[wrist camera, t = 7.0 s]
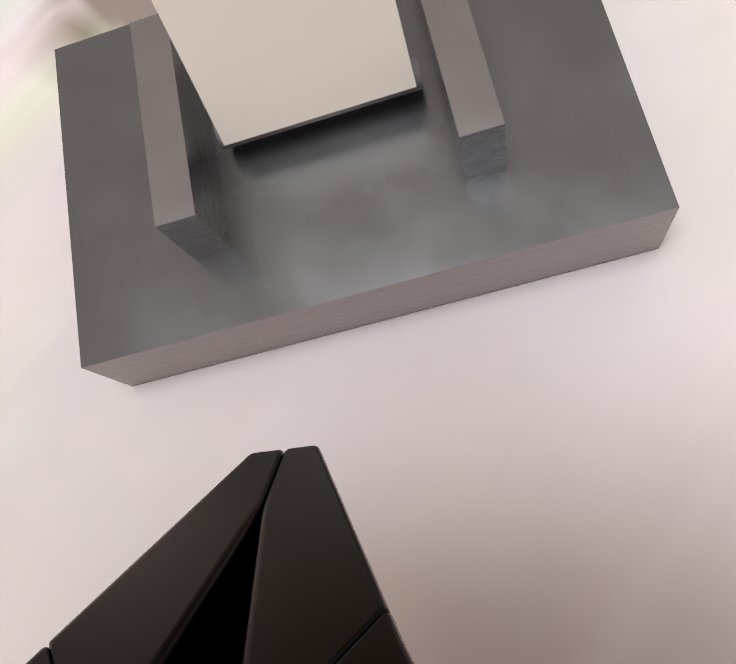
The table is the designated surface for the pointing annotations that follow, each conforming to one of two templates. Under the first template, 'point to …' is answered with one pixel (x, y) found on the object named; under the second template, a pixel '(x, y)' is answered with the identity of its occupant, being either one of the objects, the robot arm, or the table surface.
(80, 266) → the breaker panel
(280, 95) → the lever
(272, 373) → the table surface
